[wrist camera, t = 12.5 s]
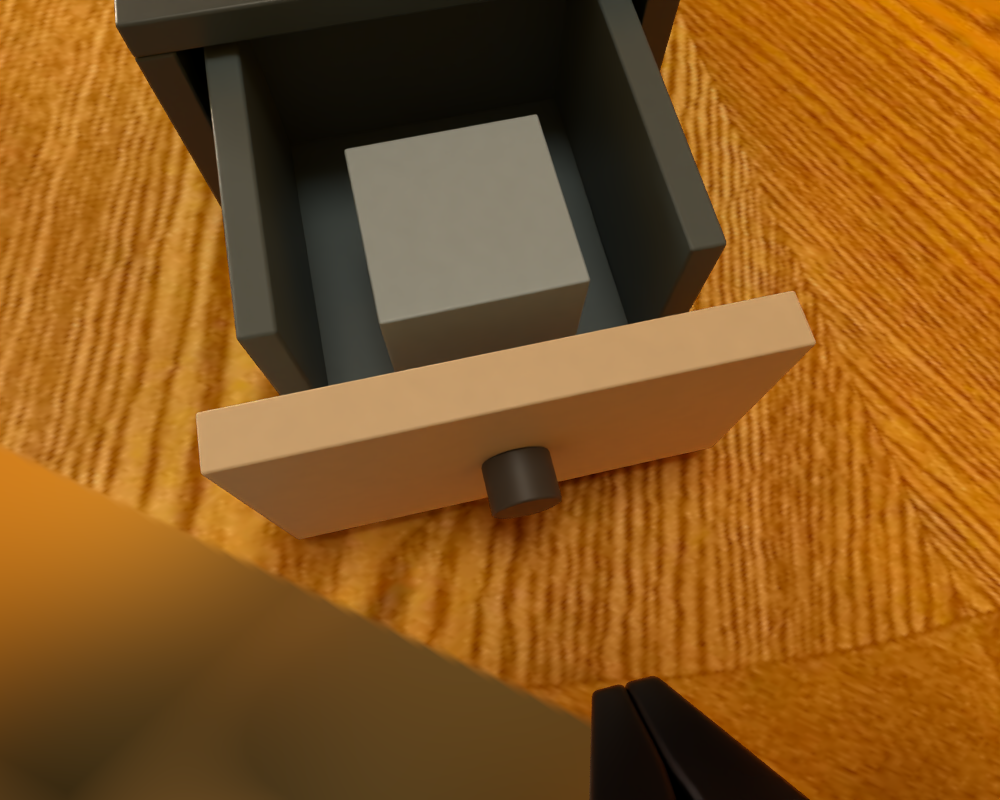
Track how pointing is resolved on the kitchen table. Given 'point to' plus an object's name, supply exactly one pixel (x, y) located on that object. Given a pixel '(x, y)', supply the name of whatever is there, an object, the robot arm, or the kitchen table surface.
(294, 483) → the drawer
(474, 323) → the block
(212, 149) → the cabinet
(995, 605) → the kitchen table surface
